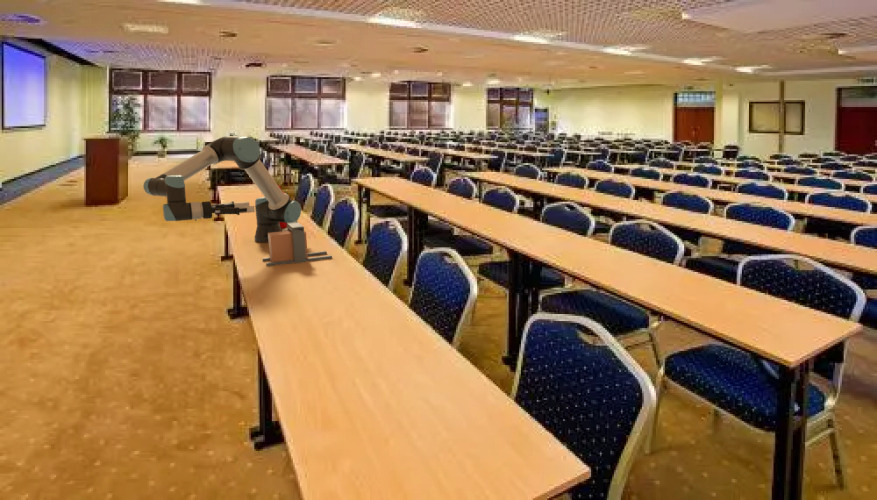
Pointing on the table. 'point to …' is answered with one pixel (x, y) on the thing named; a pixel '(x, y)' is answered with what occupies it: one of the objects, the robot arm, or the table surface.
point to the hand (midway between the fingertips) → (251, 206)
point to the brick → (282, 246)
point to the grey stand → (298, 247)
